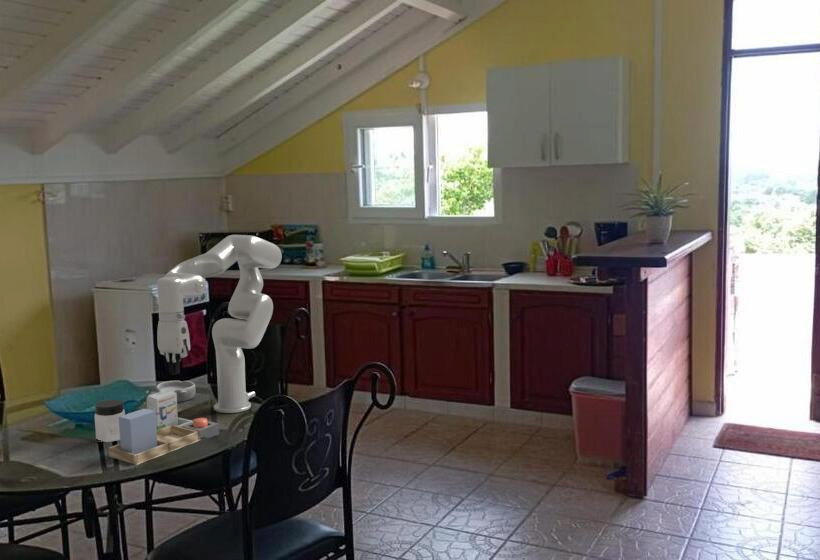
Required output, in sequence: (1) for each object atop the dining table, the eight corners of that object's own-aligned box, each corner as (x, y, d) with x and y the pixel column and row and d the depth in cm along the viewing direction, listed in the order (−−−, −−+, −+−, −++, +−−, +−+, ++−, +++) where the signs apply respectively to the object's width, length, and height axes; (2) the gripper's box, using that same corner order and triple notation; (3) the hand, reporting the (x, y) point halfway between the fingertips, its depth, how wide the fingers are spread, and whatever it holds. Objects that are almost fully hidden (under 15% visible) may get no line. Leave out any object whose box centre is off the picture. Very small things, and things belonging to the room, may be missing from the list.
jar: (99, 447, 252) (97, 409, 250) (93, 440, 259) (90, 402, 257) (129, 441, 257) (127, 404, 255) (122, 434, 263) (120, 397, 262)
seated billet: (146, 447, 248) (144, 408, 247) (157, 450, 246) (155, 411, 244) (121, 456, 241) (118, 416, 239) (132, 459, 238) (130, 419, 236)
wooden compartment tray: (172, 436, 262) (171, 424, 261) (201, 443, 255) (200, 431, 254) (107, 459, 242) (106, 447, 241) (137, 468, 235) (136, 456, 234)
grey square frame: (201, 429, 267) (200, 419, 267) (219, 434, 263) (218, 423, 263) (182, 437, 261) (181, 426, 260) (200, 441, 256) (199, 430, 256)
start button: (200, 429, 265) (200, 417, 264) (210, 431, 262) (210, 419, 262) (190, 433, 261) (189, 420, 260) (200, 435, 259) (199, 423, 258)
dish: (190, 403, 296) (189, 389, 296) (151, 403, 297) (150, 390, 296) (200, 391, 311) (200, 378, 310) (163, 392, 311) (163, 379, 310)
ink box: (168, 424, 273) (166, 389, 271) (179, 426, 271) (177, 391, 269) (147, 431, 266) (145, 396, 264) (158, 434, 263) (156, 398, 262)
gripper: (198, 316, 260) (200, 374, 262) (163, 312, 267) (166, 368, 270) (180, 321, 253) (183, 379, 256) (145, 316, 260) (148, 373, 263)
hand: (174, 373), depth 263 cm, fingers closed
